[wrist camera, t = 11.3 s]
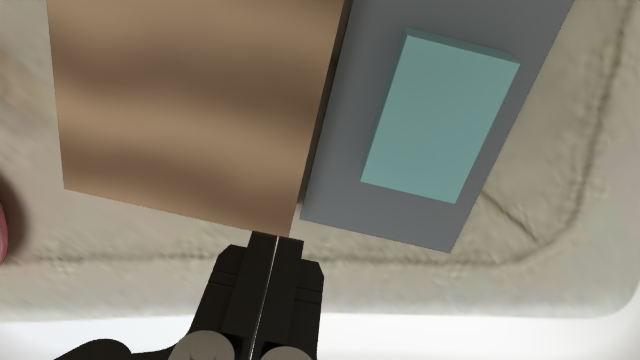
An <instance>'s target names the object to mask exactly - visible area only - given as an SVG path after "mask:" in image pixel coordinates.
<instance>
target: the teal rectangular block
mask: <svg viewBox="0 0 640 360" xmlns="http://www.w3.org/2000/svg"><path fill="white" fill-rule="evenodd" d="M519 66H520V63H519V62H518V61H517V60H516V59H515V58H514V57H513V56H512V55H511V53H509V52H505V51H501V50H497V49H493V48H489V47H485V46H481V45H477V44H473V43H469V42H465V41H462V40H458V39H454V38H450V37H446V36H442V35H438V34H434V33H430V32H426V31H422V30H418V29H414V28H411V27H407V26H404V29H403V32H402V35H401V39H400V42H399V45H398V48H397V51H396V54H395V58H394V61H393V64H392V67H391V70H390V73H389V77H388V80H387V83H386V86H385V89H384V92H383V95H382V99H381V102H380V105H379V108H378V111H377V114H376V118H375V121H374V124H373V127H372V130H371V133H370V136H369V140H368V143H367V146H366V149H365V152H364V155H363V159H362V162H361V165H360V182H365V183H369V184H373V185H377V186H382V187H386V188H390V189H394V190H398V191H403V192H407V193H411V194H415V195H419V196H424V197H428V198H432V199H436V200H441V201H445V202H449V203H453V204H455V202H456V200H457V198H458V196H459V194H460V192H461V189H462V187H463V185H464V183H465V181H466V179H467V177H468V175H469V172H470V170H471V168H472V166H473V164H474V162H475V160H476V157H477V155H478V153H479V151H480V149H481V147H482V145H483V143H484V140H485V138H486V136H487V134H488V132H489V130H490V128H491V126H492V123H493V121H494V119H495V117H496V115H497V113H498V111H499V109H500V106H501V104H502V102H503V100H504V98H505V96H506V94H507V91H508V89H509V87H510V85H511V83H512V81H513V79H514V77H515V74H516V72H517V70H518V68H519Z"/></svg>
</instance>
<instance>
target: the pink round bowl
mask: <svg viewBox="0 0 640 360" xmlns="http://www.w3.org/2000/svg"><path fill="white" fill-rule="evenodd" d="M7 247H8V230H7V224H6V221H5V213H4V210H3V207H2V204H1V202H0V265H1V264H2V262H3V260H4V258H5V256H6V253H7Z"/></svg>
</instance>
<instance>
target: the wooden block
mask: <svg viewBox="0 0 640 360" xmlns="http://www.w3.org/2000/svg"><path fill="white" fill-rule="evenodd" d="M46 2H47V12H48V23H49V34H50V44H51V55H52V65H53V76H54V86H55V97H56V107H57V118H58V129H59V139H60V150H61V160H62V171H63V181H64V189H67V190H72V191H76V192H81V193H85V194H89V195H94V196H98V197H103V198H107V199H112V200H116V201H121V202H125V203H129V204H134V205H138V206H143V207H147V208H152V209H156V210H161V211H165V212H169V213H174V214H178V215H183V216H187V217H192V218H196V219H201V220H205V221H209V222H214V223H218V224H223V225H227V226H232V227H236V228H241V229H245V230H250V231H253V230H254V231H259V232H263V233H268V234H273V235H277V237H279V236H283V237H289V233H290V228H291V224H292V220H293V216H294V211H295V207H296V203H297V199H298V194H299V190H300V186H301V182H302V177H303V173H304V169H305V165H306V160H307V156H308V152H309V148H310V143H311V139H312V135H313V131H314V126H315V122H316V118H317V114H318V109H319V105H320V101H321V97H322V92H323V88H324V84H325V80H326V75H327V71H328V67H329V63H330V58H331V54H332V50H333V46H334V42H335V37H336V33H337V29H338V25H339V20H340V16H341V12H342V8H343V3H344V0H46Z"/></svg>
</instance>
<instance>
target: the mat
mask: <svg viewBox="0 0 640 360" xmlns="http://www.w3.org/2000/svg"><path fill="white" fill-rule="evenodd" d="M573 2H574V0H353V3H352V7H351V11H350V15H349V19H348V23H347V27H346V32H345V36H344V40H343V44H342V48H341V52H340V56H339V60H338V64H337V68H336V72H335V76H334V80H333V84H332V89H331V93H330V97H329V101H328V105H327V109H326V113H325V117H324V121H323V125H322V129H321V133H320V137H319V142H318V146H317V150H316V154H315V158H314V162H313V166H312V170H311V174H310V178H309V182H308V186H307V190H306V195H305V199H304V203H303V207H302V211H301V215H300V219H301V220H305V221H310V222H314V223H319V224H323V225H327V226H332V227H336V228H341V229H345V230H349V231H354V232H358V233H363V234H367V235H371V236H376V237H380V238H385V239H389V240H393V241H398V242H402V243H407V244H411V245H415V246H420V247H424V248H429V249H433V250H438V251H442V252H446V253H450V252H451V250H452V248H453V246H454V244H455V242H456V240H457V238H458V236H459V234H460V232H461V230H462V228H463V226H464V224H465V222H466V220H467V218H468V216H469V214H470V212H471V210H472V207H473V205H474V203H475V201H476V199H477V197H478V195H479V193H480V191H481V189H482V187H483V185H484V183H485V181H486V179H487V177H488V175H489V173H490V171H491V169H492V167H493V165H494V163H495V161H496V159H497V157H498V154H499V152H500V150H501V148H502V146H503V144H504V142H505V140H506V138H507V136H508V134H509V132H510V130H511V128H512V126H513V124H514V122H515V120H516V118H517V116H518V114H519V112H520V110H521V108H522V106H523V104H524V101H525V99H526V97H527V95H528V93H529V91H530V89H531V87H532V85H533V83H534V81H535V79H536V77H537V75H538V73H539V71H540V69H541V67H542V65H543V63H544V61H545V59H546V57H547V55H548V53H549V50H550V48H551V46H552V44H553V42H554V40H555V38H556V36H557V34H558V32H559V30H560V28H561V26H562V24H563V22H564V20H565V18H566V16H567V14H568V12H569V10H570V8H571V6H572V4H573ZM404 26H407V27H411V28H414V29H418V30H422V31H426V32H430V33H434V34H438V35H442V36H446V37H450V38H454V39H458V40H462V41H465V42H469V43H473V44H477V45H481V46H485V47H489V48H493V49H497V50H501V51H505V52H509V53H511V55H512V56H513V57H514V58H515V59H516V60H517V61H518V62H519V63H520V66H519V68H518V70H517V72H516V74H515V77H514V79H513V81H512V83H511V85H510V87H509V89H508V91H507V94H506V96H505V98H504V100H503V102H502V104H501V106H500V109H499V111H498V113H497V115H496V117H495V119H494V121H493V123H492V126H491V128H490V130H489V132H488V134H487V136H486V138H485V140H484V143H483V145H482V147H481V149H480V151H479V153H478V155H477V157H476V160H475V162H474V164H473V166H472V168H471V170H470V172H469V175H468V177H467V179H466V181H465V183H464V185H463V187H462V189H461V192H460V194H459V196H458V198H457V200H456V202H455V204H453V203H449V202H445V201H441V200H436V199H432V198H428V197H424V196H419V195H415V194H411V193H407V192H403V191H398V190H394V189H390V188H386V187H382V186H377V185H373V184H369V183H365V182H360V165H361V162H362V159H363V155H364V152H365V149H366V146H367V143H368V140H369V136H370V133H371V130H372V127H373V124H374V121H375V118H376V114H377V111H378V108H379V105H380V102H381V99H382V95H383V92H384V89H385V86H386V83H387V80H388V77H389V73H390V70H391V67H392V64H393V61H394V58H395V54H396V51H397V48H398V45H399V42H400V39H401V35H402V32H403V29H404Z"/></svg>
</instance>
